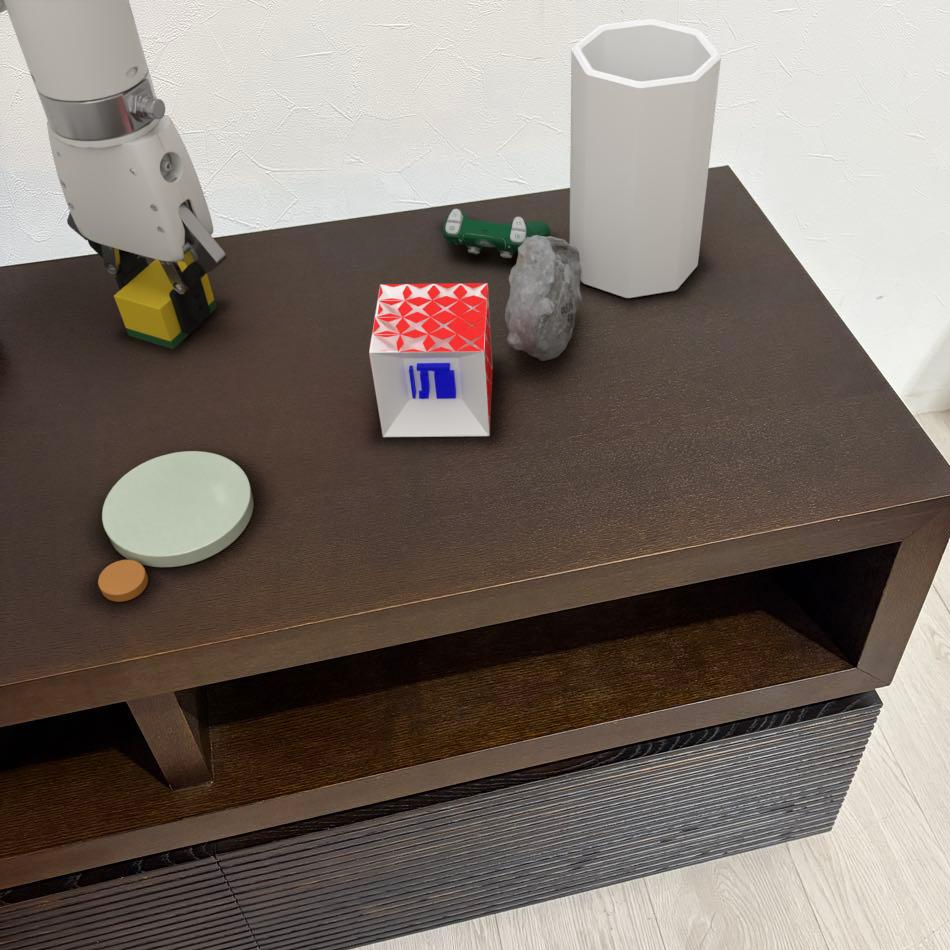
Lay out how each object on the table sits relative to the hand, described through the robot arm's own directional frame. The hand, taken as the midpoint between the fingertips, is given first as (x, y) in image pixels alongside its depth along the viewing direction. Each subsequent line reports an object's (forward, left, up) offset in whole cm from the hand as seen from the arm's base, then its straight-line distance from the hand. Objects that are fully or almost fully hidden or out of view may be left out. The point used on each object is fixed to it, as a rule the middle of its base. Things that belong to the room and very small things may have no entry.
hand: (169, 314), depth 90 cm
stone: (+30, +9, -1) cm, 31 cm away
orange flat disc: (+14, -24, -1) cm, 28 cm away
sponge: (0, 0, -1) cm, 1 cm away
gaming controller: (+20, +20, -1) cm, 28 cm away
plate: (+14, -18, -1) cm, 22 cm away
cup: (+32, +23, -1) cm, 39 cm away
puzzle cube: (+25, 0, -1) cm, 25 cm away
